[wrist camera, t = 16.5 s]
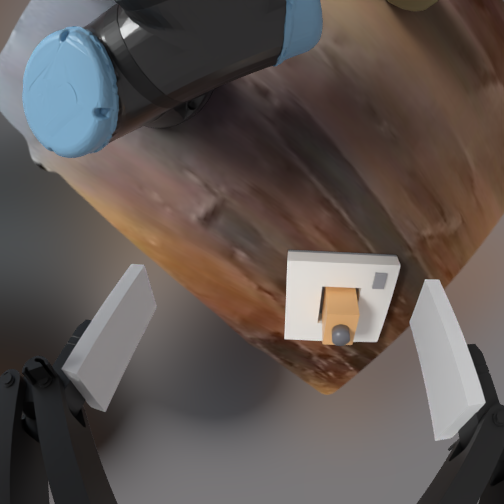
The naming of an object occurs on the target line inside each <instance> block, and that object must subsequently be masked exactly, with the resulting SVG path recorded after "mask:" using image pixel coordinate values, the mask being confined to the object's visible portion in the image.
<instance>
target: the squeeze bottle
mask: <svg viewBox="0 0 504 504" xmlns="http://www.w3.org/2000/svg"><path fill="white" fill-rule="evenodd" d="M387 1H388V2H389V3H391V4H393V5H395V6H397V7H399V8H401V9H405V10H410V11H422V10H426V9H427V8H428V7H430V6H431V5H433V4H434V3H436V2H437V1H438V0H387Z"/></svg>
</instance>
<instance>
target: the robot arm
mask: <svg viewBox="0 0 504 504" xmlns="http://www.w3.org/2000/svg"><path fill="white" fill-rule="evenodd" d="M114 1H115V2H117V4H115V5H114V6H112V7H111V8H110V9H108V10H107V11H105V12H104V13H103V14H101V15H100V16H99V17H97V18H96V19H95V20H94V21H92V22H91V23H90V24H88V25H87V26H85V27H83V28H81V27H76V26H74V27H66V28H65V29H63V30H59V31H56V32H54V33H52V34H50V35H48V36H47V37H46V38H44V39H43V40H42V41H41V42H40V43H39V44H38V46H37V47H36V48H35V50H34V51H33V53H32V55H31V57H30V59H29V61H28V63H27V66H26V69H25V73H24V78H23V93H22V99H23V107H24V111H25V115H26V118H27V121H28V124H29V126H30V128H31V130H32V132H33V134H34V135H35V137H36V138H37V139H38V141H39V142H40V143H41V144H42V145H43V146H44V147H45V148H47V149H48V150H50V151H54V152H55V153H56V154H57V155H59V156H62V157H67V158H76V157H81V156H84V155H86V154H89V153H95V152H98V151H100V150H102V149H103V148H104V147H105V146H106V145H107V144H108V143H110V142H112V141H114V140H116V139H118V138H120V137H122V136H124V135H126V134H128V133H130V132H132V131H134V130H136V129H138V128H140V127H142V126H146V127H151V128H165V127H170V126H174V125H177V124H179V123H181V122H183V121H185V120H187V119H189V118H191V117H192V116H194V115H195V114H196V113H197V112H199V111H200V110H201V109H202V107H203V106H204V105H205V104H206V102H207V101H208V99H209V97H210V96H211V93H212V91H213V89H214V88H217V87H219V86H221V85H224V84H226V83H228V82H231V81H233V80H236V79H238V78H241V77H243V76H246V75H248V74H251V73H254V72H256V71H259V70H262V69H264V68H267V67H270V66H277V65H278V64H281V63H282V62H283V61H284V60H286V59H288V58H291V57H294V56H296V55H299V54H302V53H304V52H307V51H309V50H310V49H312V48H313V47H314V46H315V45H316V44H317V43H318V42H319V40H320V37H321V34H322V26H323V20H322V9H321V3H320V0H114ZM156 308H157V306H156V302H155V299H154V295H153V292H152V289H151V286H150V282H149V278H148V275H147V271H146V268H145V265H139V264H131V265H130V267H129V268H128V269H127V271H126V272H125V274H124V275H123V276H122V278H121V279H120V281H119V282H118V283H117V285H116V286H115V287H114V289H113V290H112V292H111V293H110V295H109V296H108V297H107V299H106V300H105V302H104V303H103V305H102V306H101V308H100V309H99V311H98V312H97V314H96V315H95V317H94V318H93V320H92V321H91V320H85V321H84V322H83V323H82V324H80V325H79V326H78V327H77V329H76V330H75V332H74V333H73V335H72V337H71V338H70V339H69V341H68V344H66V345H65V347H64V348H63V350H62V351H61V353H60V355H59V356H58V358H57V360H56V361H55V363H54V364H53V366H51V364H50V363H49V362H48V360H47V359H46V358H45V357H43V356H35V357H33V358H31V359H29V360H28V361H27V362H26V363H25V365H24V367H23V370H22V374H23V375H24V376H25V377H22V376H21V374H20V373H19V372H18V371H17V370H15V369H9V370H7V371H5V372H4V373H3V374H2V375H1V377H0V504H49V493H48V492H49V491H48V481H49V485H50V488H51V492H52V495H53V499H54V502H55V504H117V501H116V499H115V497H114V494H113V492H112V489H111V487H110V485H109V482H108V479H107V477H106V474H105V472H104V469H103V466H102V464H101V461H100V457H99V455H98V452H97V449H96V446H95V442H94V439H93V436H92V433H91V429H90V426H89V422H88V419H87V415H86V412H85V409H84V407H83V404H84V402H85V400H86V402H87V403H88V404H89V405H90V406H91V407H92V408H95V409H98V410H101V411H104V412H105V411H106V409H107V407H108V405H109V403H110V401H111V398H112V397H113V394H114V392H115V390H116V388H117V386H118V384H119V382H120V379H121V378H122V375H123V373H124V371H125V369H126V367H127V365H128V363H129V361H130V359H131V357H132V355H133V353H134V351H135V349H136V347H137V345H138V343H139V341H140V339H141V337H142V335H143V333H144V331H145V329H146V327H147V325H148V323H149V322H150V320H151V318H152V316H153V314H154V312H155V310H156ZM410 326H411V329H412V333H413V337H414V341H415V344H416V348H417V352H418V356H419V360H420V364H421V368H422V373H423V377H424V382H425V387H426V391H427V396H428V401H429V407H430V412H431V417H432V423H433V429H434V436H435V440H436V441H437V440H443V439H449V438H452V437H453V436H454V435H455V434H456V433H457V432H458V433H459V439H458V440H457V441H456V442H455V443H454V444H453V445H451V446H450V448H449V449H448V450H449V451H450V450H451V449H452V448H453V449H452V451H451V452H450V454H449V456H448V457H447V459H446V461H445V462H444V464H443V466H442V467H441V469H440V470H439V472H438V474H437V475H436V477H435V478H434V480H433V481H432V483H431V484H430V486H429V487H428V489H427V490H426V492H425V493H424V494H423V496H422V497H421V498H420V500H419V501H418V503H417V504H477V502H478V500H479V499H480V500H479V504H504V406H503V405H501V404H500V403H499V400H498V397H497V394H496V390H495V387H494V384H493V381H492V378H491V375H490V374H489V370H488V367H487V365H486V362H485V359H484V356H483V354H482V352H481V351H480V349H479V348H478V347H477V346H476V345H475V344H468V345H467V344H466V342H465V339H464V336H463V334H462V331H461V329H460V327H459V324H458V321H457V319H456V317H455V314H454V312H453V309H452V307H451V305H450V303H449V300H448V298H447V296H446V294H445V291H444V289H443V287H442V285H441V283H440V281H439V280H433V279H425V281H424V284H423V287H422V290H421V292H420V295H419V298H418V301H417V304H416V306H415V309H414V312H413V314H412V317H411V319H410ZM21 417H22V418H21Z"/></svg>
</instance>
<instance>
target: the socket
mask: <svg viewBox="0 0 504 504" xmlns="http://www.w3.org/2000/svg"><path fill="white" fill-rule="evenodd" d="M400 266H401V265H400V263H399V260H398V257H397V255H388V254H367V253H347V252H326V251H305V250H288V259H287V288H286V315H285V337H284V339H294V340H314V341H322V306H323V298H324V290H325V287H345V288H356V294H357V301H358V307H359V314H360V316H359V320H358V324H357V328H356V332H355V336H354V340H353V342H377V341H378V338H379V335H380V332H381V329H382V327H383V324H384V321H385V317H386V314H387V311H388V308H389V305H390V302H391V298H392V295H393V292H394V288H395V285H396V281H397V278H398V274H399V270H400Z"/></svg>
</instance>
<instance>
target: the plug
mask: <svg viewBox="0 0 504 504" xmlns="http://www.w3.org/2000/svg"><path fill="white" fill-rule="evenodd" d="M359 316H360V314H359V307H358V301H357V294H356V288H345V287H325V290H324V298H323V306H322V344H330V345H337V346H343V345H352V344H353V340H354V336H355V332H356V328H357V324H358V320H359Z"/></svg>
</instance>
